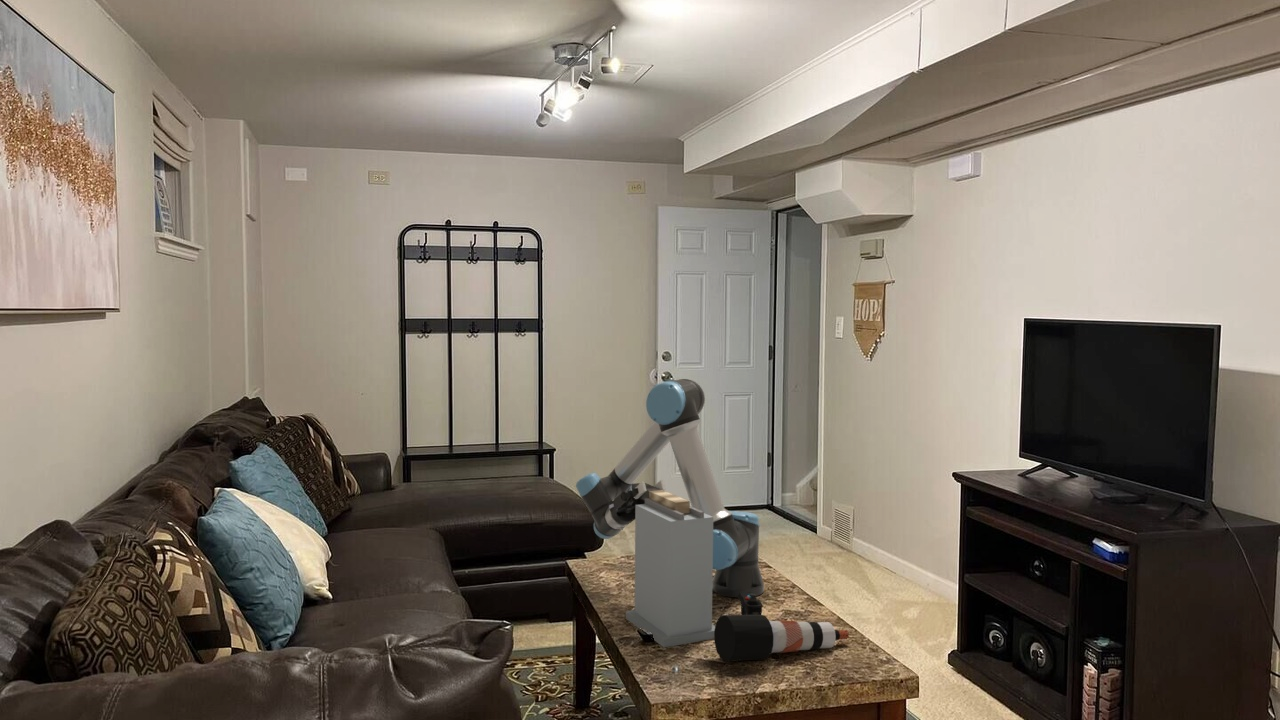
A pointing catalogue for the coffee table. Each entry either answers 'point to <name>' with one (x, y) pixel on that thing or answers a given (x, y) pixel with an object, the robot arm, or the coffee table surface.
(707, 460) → the robot arm
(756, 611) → the controller
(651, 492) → the bar
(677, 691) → the coffee table surface
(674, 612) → the post
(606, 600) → the coffee table surface
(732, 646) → the black white tapered cylinder
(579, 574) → the coffee table surface
